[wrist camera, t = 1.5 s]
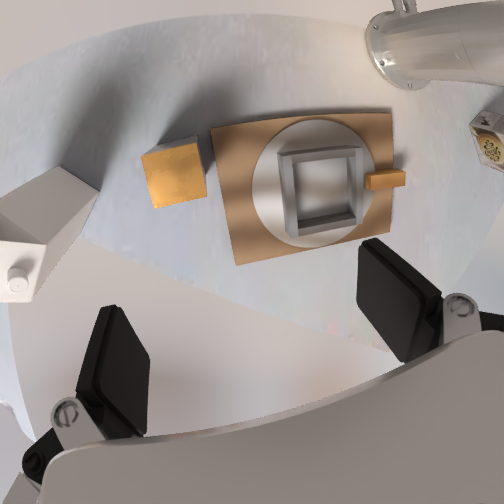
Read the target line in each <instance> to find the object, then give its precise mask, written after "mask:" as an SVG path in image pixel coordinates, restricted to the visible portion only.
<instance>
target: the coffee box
mask: <svg viewBox="0 0 504 504" xmlns="http://www.w3.org/2000/svg"><path fill="white" fill-rule="evenodd" d="M469 128H470V131H471V133H472V136H473V139H474V142H475V145H476V149H477V152H478V155H479V158H480V162H481V164H483V165H486V166H488V167H491V168H494V169H496V170H499V171H501V172H503V173H504V115H499V114H495V113H491V112H486V111H481V112H480V113H479V115H478V116H477V117H476V118H475V119H474V120H473V121H472V122H471V123H470V124H469Z"/></svg>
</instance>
